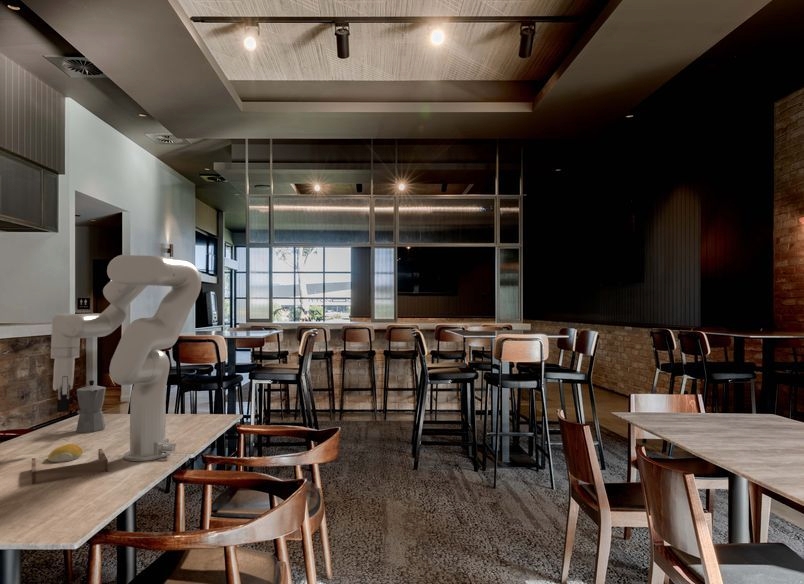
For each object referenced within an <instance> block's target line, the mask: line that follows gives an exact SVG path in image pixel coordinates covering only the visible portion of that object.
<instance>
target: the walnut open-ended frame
mask: <svg viewBox="0 0 804 584" xmlns="http://www.w3.org/2000/svg"><path fill="white" fill-rule="evenodd" d="M97 456H98V459H97V461H90V462H83V463H78V464H72V465H62V466H58V467H51V468H45V469H44V468H43V469H38V470H37V466H36V457H34V458H33V457H32V458H31V485H35V484H42V483H46V482H53V481H59V480H66V479H72V478H77V477H78V478H79V477H83V476H89V475H95V474H100V473H101V474H102V473H108V470H109V460H108V458H107V456H106V454H105V452H104V450H103V448H98V454H97Z"/></svg>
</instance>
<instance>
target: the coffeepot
mask: <svg viewBox="0 0 804 584" xmlns="http://www.w3.org/2000/svg"><path fill="white" fill-rule="evenodd" d="M88 383H89V385H88V384H85V385H84V387H80V388H78V389H76V395H77V401H78V402H77V403H78V408H80V413H79V415H78V419H77V426H76V433H80V434H87V433H88V434H89V433H95V432H101V431H104V430H105V429H106V424H105V418H104V412H103V411H102V410H103V408H102V407H103V406H104V402H105V395H106V390H107V387H105V386H100V385H94V384H95V380H92V379H91V380H89V381H88Z"/></svg>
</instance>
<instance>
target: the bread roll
mask: <svg viewBox="0 0 804 584" xmlns="http://www.w3.org/2000/svg"><path fill="white" fill-rule="evenodd" d="M83 452H84V450H83V448H82V447H81V446H79V445H78V444H75V443H68V444H63V445H61V446H59V447H56V448H55V449H53V450H52V451H51V452H50V453H49V454H48V456H47V459H48V461H49V462H50V463H51V462H52V463H64V462H70V461H71V462H72V461H74V460H77V459H79V458H80V457H81V456H82V455H83Z"/></svg>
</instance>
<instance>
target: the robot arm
mask: <svg viewBox="0 0 804 584" xmlns="http://www.w3.org/2000/svg"><path fill="white" fill-rule="evenodd" d="M106 273H107V274H106V275H107V276H108V278H109V279H110V281H108V282H107V283H106V285H105V286H104V287H103V289H102V293H103V294H102V295H103V296H104V298H105V299H106V300H107V301H108V303H110V304H109V305H108V306H107V307H106V308H105V309H104V310H103V311H102V312H101V313H56V314H54V315H53V317H52V320H51V339H50V340H51V341H50V359H53V360H54V363H53V375H52V376H53V378H52V389H53V391H57V399H56V413H57V414H58V413H67V412H69V411H70V404H71V403H70V401H71V400H70V391H71V390H73V386H74V379H75V377H74V376H75V365H76V364H75V363H76V362H75V361H76V360H75V359H77V358H80V349H81V348H80V346H81V343H80V342H81V339H89V338H101V337H106V336H109V335H110V334H112V333H113V332H114V331H115V330H117V328H119V327H120V326H121V325H122V324H123V323H124V321H126V318H127V316H128V313H129V308H130V307H129V305H130V303H132V302H133V301H134V300H135V299H136V298H137V297H138V296H140V294H141V293H142V292H143V291H145V289H146V288H147V287H148V286H153V287H154V286H157V287H171V289H170V291H169V292H167V293H166V294H165V296H164V297H163V298H162V300H161V301H160V303H159V305H158V307H157V309H156V311H155V313H154V314H153V316H150V317H139V318H137V319H134V320H133V321H131V322H130V323H129V324H128V325H127V326H126V328H125V330H124V331H123V333H122V335H121V338H120V340H119V341H118V344H117V346H116V348H115V351H114V354H113V355H112V357H111V359H110V364H109V377H110V378H111V380H112V381H113V382H114V383H116V384H117V385H120V386H131V385H133V387H132V390H131V393H130V399H129V400H130V402H129V403H130V406H129V407H130V408H129V409H130V410H129V413H130V414H129V450H127V451H126V452H124V453H123V459H124V460H125V461H128V462H129V461H130V462H144V461H153V460H158V459H162V458H165V457H167V456H169V455H170V454H171V452H172V453H173V452H175V451H176V447H177V443H175V442H172V443H170V442H169V440H170V438H166V415H167V414H166V408H167V407H166V406H167V405H166V401H167V384H168V383H167V382H168V377H169V372H170V366H171V365H170V363H171V362H170V359H169V357H168V355H167V354H166V353H165V352H164V351H162V350H165V349H170V348H171V347H173V346H174V345H175V344H176V342H177V341H178V339H179V337H180V335H181V332H182V331H183V328H184V326H185V324H186V322H187V319H188V317H189V314H190V313H191V310H192V308H193V306H194V304H195V303H196V301H197V299H198V298H199V296H200V292H201V289H202V277H201V274H200V272H199V270H198V268H197V267H196V265H194V264H193V263H191V262H190V261H188V260H186V259H181V258H176V257H167V256H161V255H145V254H144V255H141V254H140V255H139V254H137V255H135V254H134V255H132V254H131V255H130V254H120V255H117V256H116V257H113V259H111V260H110V261H109V263H108V265H107V269H106Z"/></svg>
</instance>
